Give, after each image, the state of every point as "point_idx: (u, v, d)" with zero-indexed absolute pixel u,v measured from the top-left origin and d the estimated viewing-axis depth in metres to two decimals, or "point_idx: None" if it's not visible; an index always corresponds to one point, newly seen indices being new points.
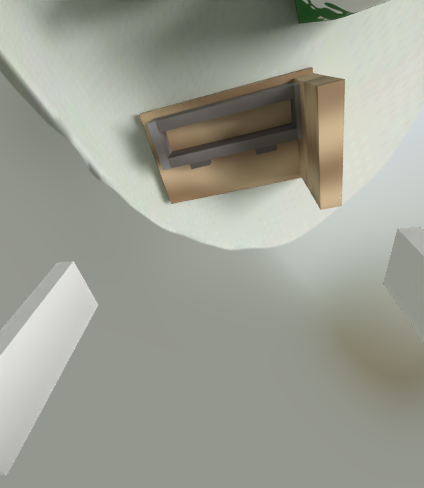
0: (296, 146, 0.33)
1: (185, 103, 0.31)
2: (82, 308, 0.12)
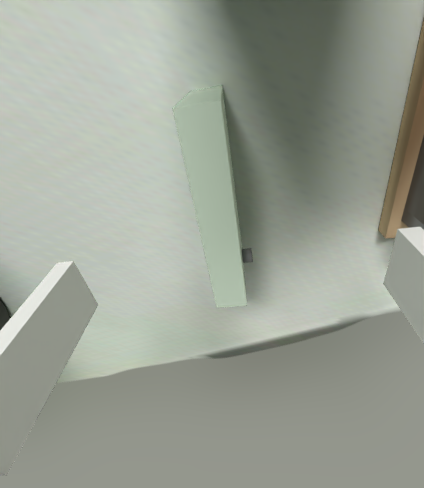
0: None
1: (404, 164, 0.18)
2: (82, 308, 0.12)
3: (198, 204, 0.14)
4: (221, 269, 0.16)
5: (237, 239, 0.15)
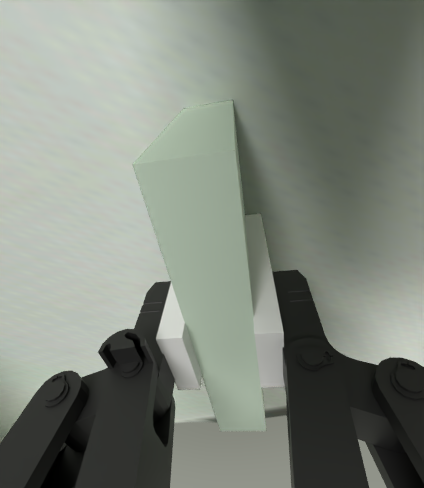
0: None
1: None
2: None
3: (190, 316, 0.08)
4: (228, 393, 0.10)
5: (256, 361, 0.09)
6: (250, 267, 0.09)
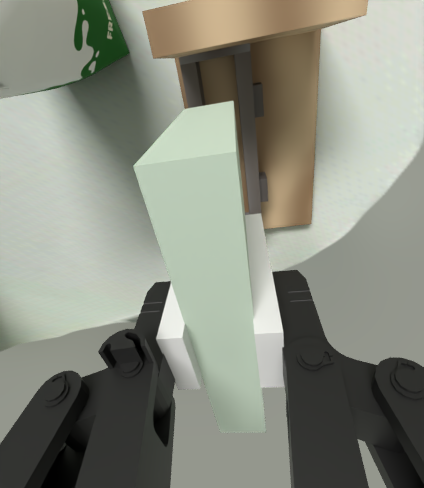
0: (267, 43, 0.22)
1: None
2: None
3: (191, 317, 0.08)
4: (228, 395, 0.10)
5: (256, 363, 0.09)
6: (250, 267, 0.09)
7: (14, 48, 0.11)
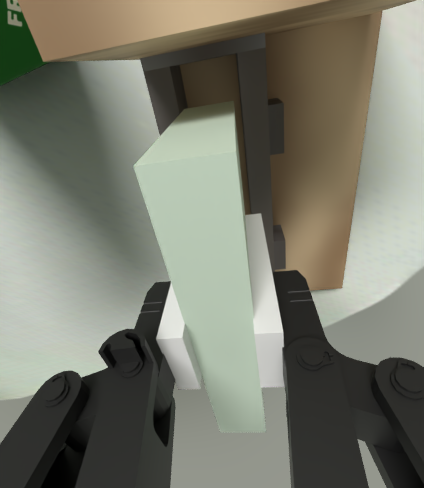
0: (292, 34, 0.13)
1: None
2: None
3: (191, 317, 0.08)
4: (228, 395, 0.10)
5: (256, 362, 0.09)
6: (250, 267, 0.09)
7: None
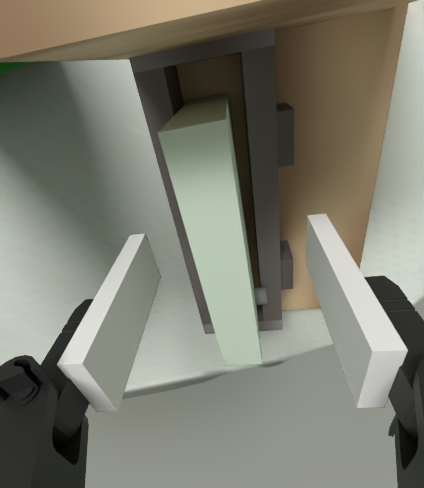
0: (303, 31, 0.12)
1: None
2: (152, 277, 0.13)
3: (198, 252, 0.10)
4: (229, 325, 0.13)
5: (250, 292, 0.11)
6: (336, 273, 0.08)
7: None
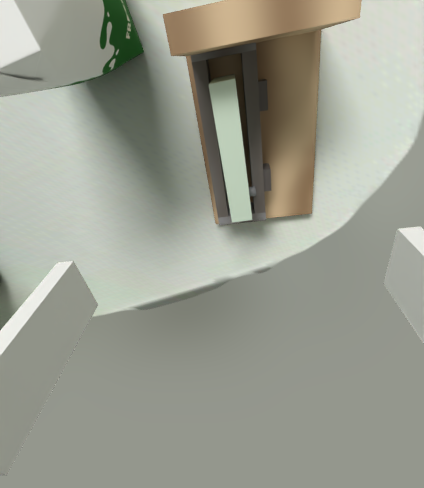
0: (272, 42, 0.24)
1: (209, 181, 0.32)
2: (82, 308, 0.12)
3: (221, 144, 0.23)
4: (235, 191, 0.25)
5: (245, 168, 0.24)
6: None
7: (56, 47, 0.13)
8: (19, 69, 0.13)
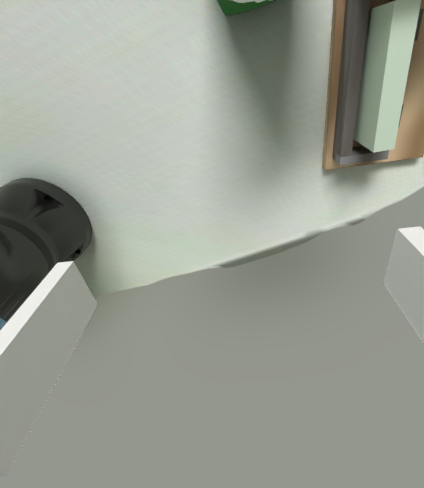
0: None
1: (329, 123, 0.33)
2: (82, 308, 0.12)
3: (388, 65, 0.24)
4: (386, 117, 0.26)
5: (403, 92, 0.25)
6: None
7: None
8: None
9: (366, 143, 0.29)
